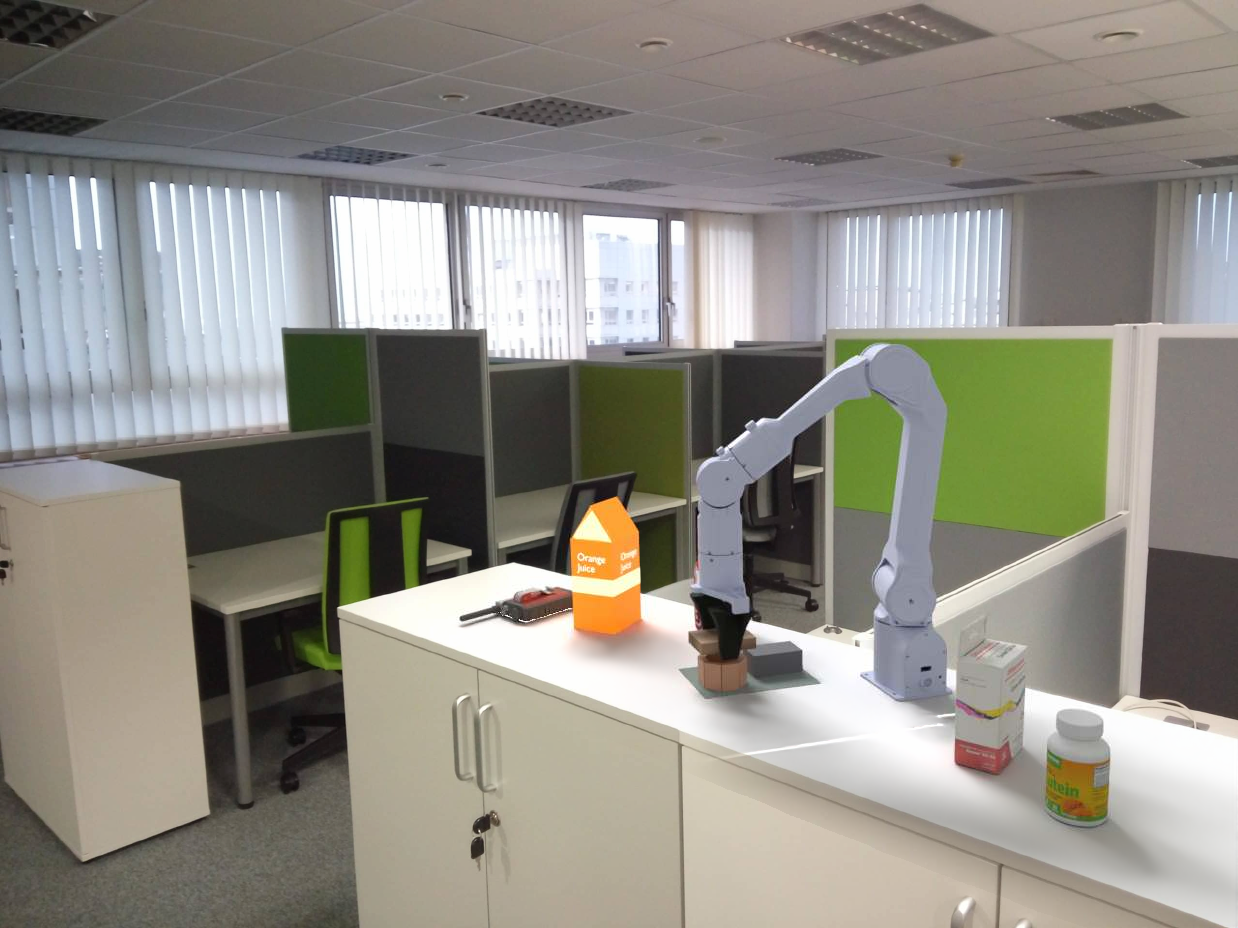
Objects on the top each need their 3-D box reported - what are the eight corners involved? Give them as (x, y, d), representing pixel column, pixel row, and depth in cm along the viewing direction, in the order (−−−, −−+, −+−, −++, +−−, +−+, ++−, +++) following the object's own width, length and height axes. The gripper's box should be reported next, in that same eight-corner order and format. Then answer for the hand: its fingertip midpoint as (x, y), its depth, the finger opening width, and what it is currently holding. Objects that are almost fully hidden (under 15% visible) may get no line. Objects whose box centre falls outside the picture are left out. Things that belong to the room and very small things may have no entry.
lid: (756, 648, 123) (756, 637, 122) (701, 655, 121) (701, 643, 120) (741, 635, 128) (741, 625, 127) (688, 642, 126) (688, 631, 125)
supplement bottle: (1032, 809, 91) (1035, 713, 90) (1067, 794, 94) (1071, 700, 92) (1084, 834, 86) (1089, 733, 85) (1119, 817, 89) (1124, 719, 88)
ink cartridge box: (1000, 776, 98) (1004, 639, 96) (952, 763, 101) (955, 631, 99) (1025, 746, 104) (1030, 618, 102) (980, 735, 107) (983, 610, 105)
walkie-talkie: (550, 598, 168) (456, 625, 154) (549, 574, 168) (455, 599, 154) (583, 608, 162) (488, 637, 148) (582, 582, 161) (487, 609, 148)
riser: (802, 671, 128) (802, 650, 127) (754, 677, 126) (754, 656, 126) (790, 661, 132) (789, 640, 131) (742, 667, 130) (742, 646, 129)
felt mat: (821, 684, 124) (821, 682, 123) (705, 700, 120) (705, 698, 120) (785, 657, 134) (785, 655, 134) (678, 670, 130) (678, 668, 130)
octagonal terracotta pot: (752, 687, 123) (752, 661, 122) (708, 693, 121) (708, 667, 121) (735, 671, 128) (735, 646, 128) (693, 676, 127) (693, 651, 126)
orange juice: (573, 627, 150) (567, 504, 147) (601, 612, 158) (596, 494, 155) (615, 634, 146) (611, 507, 144) (642, 618, 154) (638, 497, 151)
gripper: (673, 541, 128) (675, 637, 130) (710, 566, 114) (712, 673, 116) (722, 536, 130) (723, 631, 132) (764, 561, 116) (765, 667, 118)
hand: (721, 651), depth 124 cm, fingers closed on lid, 5 cm apart
